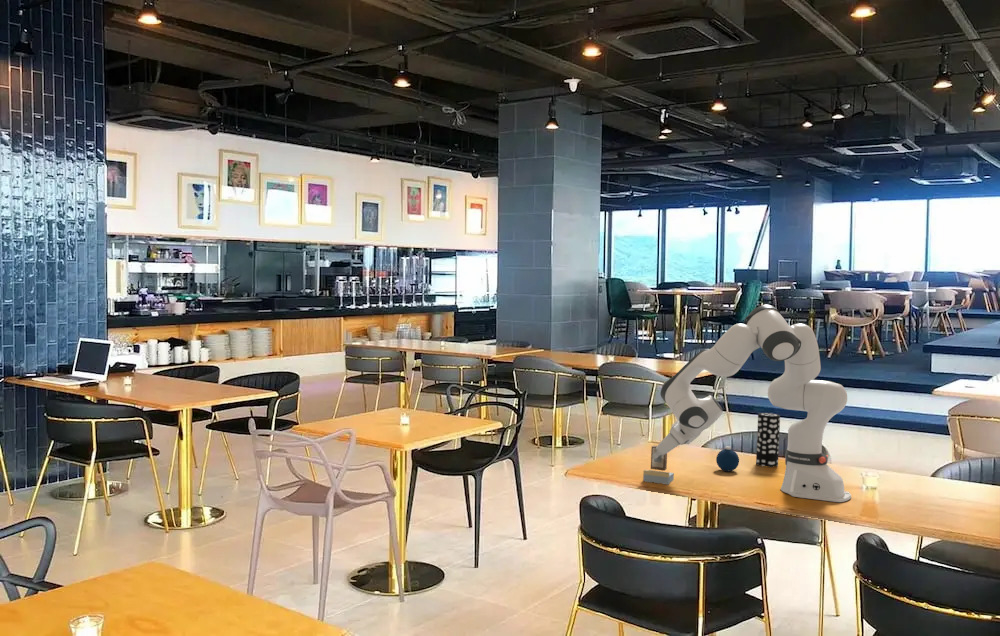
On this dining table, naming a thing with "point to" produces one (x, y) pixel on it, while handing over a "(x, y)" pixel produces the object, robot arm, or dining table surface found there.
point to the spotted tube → (768, 439)
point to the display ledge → (658, 476)
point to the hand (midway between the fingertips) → (655, 456)
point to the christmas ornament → (727, 459)
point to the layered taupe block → (658, 460)
